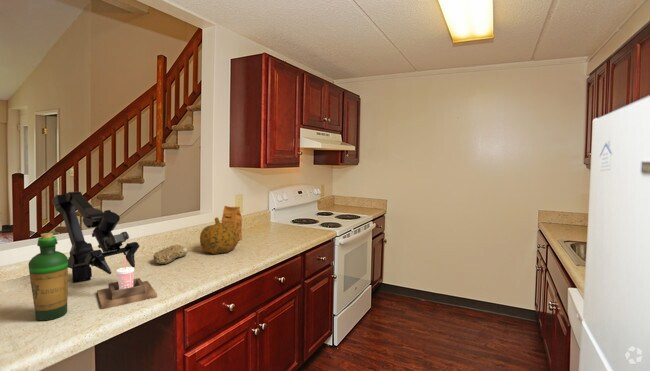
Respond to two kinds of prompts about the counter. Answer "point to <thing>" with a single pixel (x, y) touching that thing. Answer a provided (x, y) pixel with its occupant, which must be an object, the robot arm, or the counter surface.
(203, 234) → the decorative pumpkin
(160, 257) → the tan rounded lump
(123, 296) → the cup holder
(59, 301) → the bottle
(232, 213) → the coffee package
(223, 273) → the counter surface
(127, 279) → the beverage cup
